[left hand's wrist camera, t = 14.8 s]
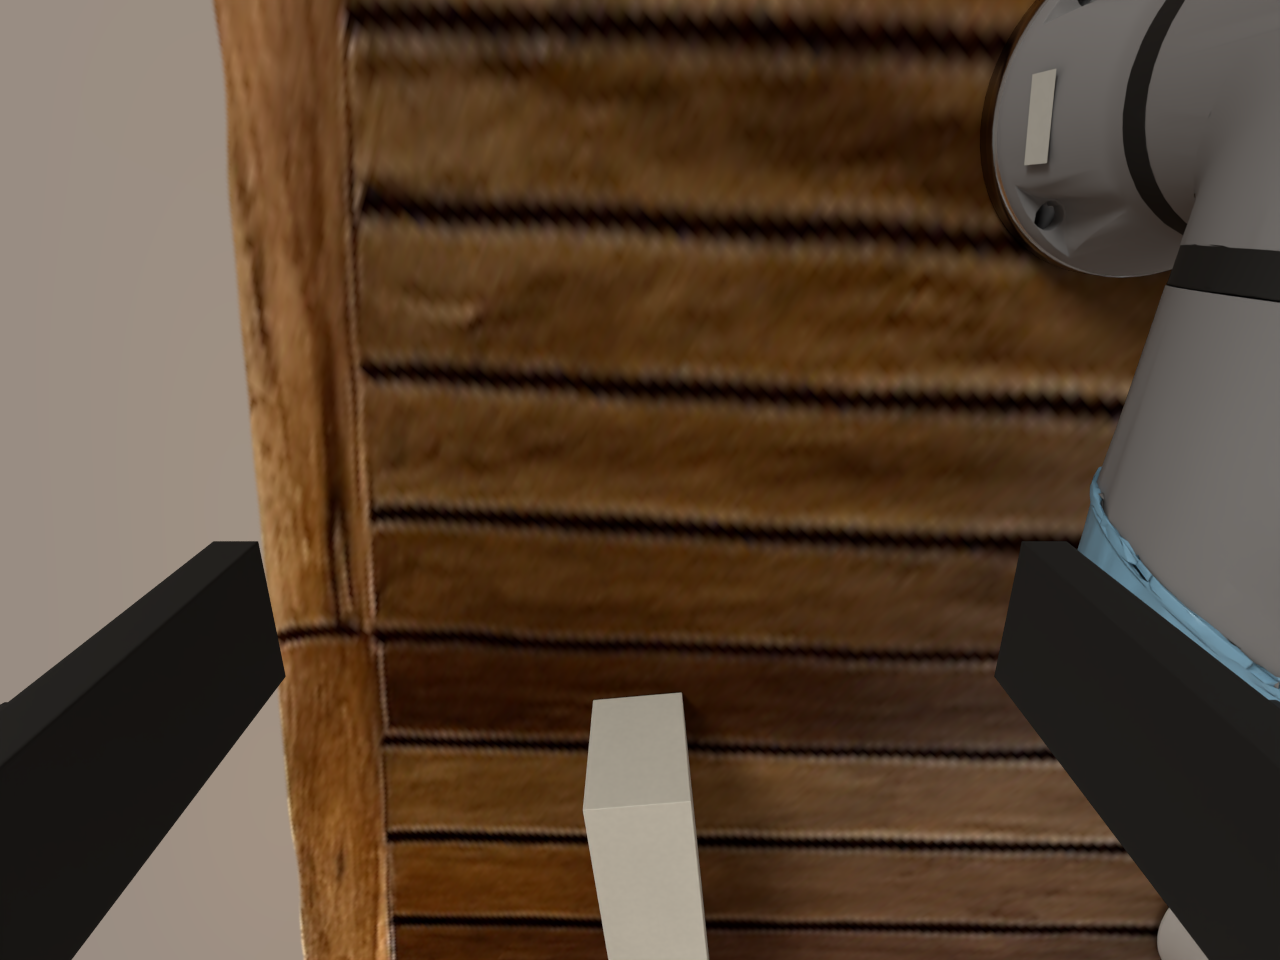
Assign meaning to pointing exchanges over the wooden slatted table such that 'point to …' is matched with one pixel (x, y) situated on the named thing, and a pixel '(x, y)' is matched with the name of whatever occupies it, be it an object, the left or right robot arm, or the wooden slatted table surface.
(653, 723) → the bar
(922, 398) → the wooden slatted table surface
